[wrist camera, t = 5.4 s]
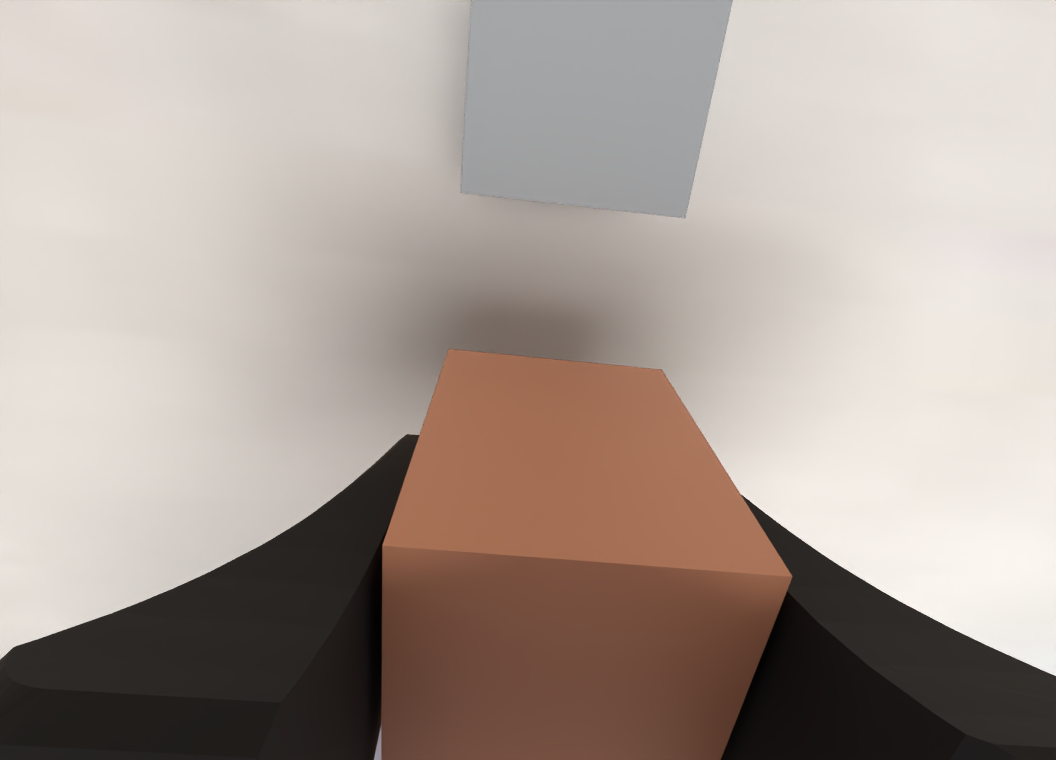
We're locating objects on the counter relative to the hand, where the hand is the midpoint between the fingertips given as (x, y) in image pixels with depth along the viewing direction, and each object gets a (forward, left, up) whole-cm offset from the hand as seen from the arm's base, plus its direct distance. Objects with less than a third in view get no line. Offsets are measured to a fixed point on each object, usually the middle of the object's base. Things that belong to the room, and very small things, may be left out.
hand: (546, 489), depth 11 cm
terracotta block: (0, 0, -2) cm, 2 cm away
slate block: (+6, -5, -8) cm, 11 cm away
